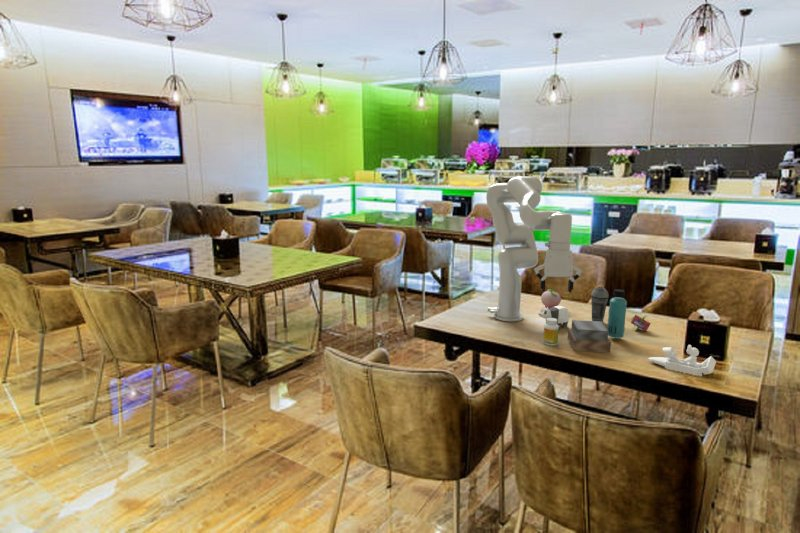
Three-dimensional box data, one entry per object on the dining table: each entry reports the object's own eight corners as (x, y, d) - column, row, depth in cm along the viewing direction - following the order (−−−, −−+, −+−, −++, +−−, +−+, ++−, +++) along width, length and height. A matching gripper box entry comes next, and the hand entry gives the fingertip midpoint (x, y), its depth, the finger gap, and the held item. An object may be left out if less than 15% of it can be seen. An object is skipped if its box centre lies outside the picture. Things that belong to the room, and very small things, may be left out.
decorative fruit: (536, 307, 248) (537, 286, 246) (551, 305, 251) (553, 285, 249) (547, 312, 240) (549, 291, 237) (563, 311, 242) (564, 290, 240)
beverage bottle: (623, 337, 209) (628, 288, 204) (624, 342, 203) (629, 292, 198) (605, 335, 211) (610, 287, 206) (606, 340, 205) (610, 291, 200)
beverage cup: (603, 319, 230) (607, 275, 226) (608, 324, 223) (612, 279, 219) (586, 318, 231) (590, 275, 227) (590, 324, 224) (594, 278, 220)
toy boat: (651, 357, 189) (653, 334, 187) (715, 371, 177) (718, 346, 175) (644, 367, 180) (647, 343, 178) (711, 382, 168) (714, 356, 166)
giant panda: (561, 323, 225) (562, 301, 223) (570, 326, 221) (572, 305, 218) (533, 327, 219) (535, 305, 217) (542, 331, 215) (544, 309, 212)
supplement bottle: (555, 346, 198) (557, 322, 196) (541, 344, 201) (542, 319, 199) (559, 342, 202) (561, 318, 200) (545, 339, 205) (547, 316, 203)
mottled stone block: (573, 350, 194) (575, 330, 192) (567, 338, 207) (569, 319, 205) (609, 352, 192) (612, 331, 191) (601, 340, 205) (603, 320, 203)
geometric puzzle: (656, 326, 215) (646, 309, 217) (651, 330, 210) (640, 312, 212) (641, 333, 220) (631, 316, 222) (635, 337, 215) (624, 319, 217)
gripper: (536, 247, 191) (534, 292, 195) (585, 248, 189) (582, 294, 193) (534, 244, 199) (531, 287, 202) (581, 245, 196) (578, 289, 200)
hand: (556, 290), depth 198 cm, fingers open, 9 cm apart
